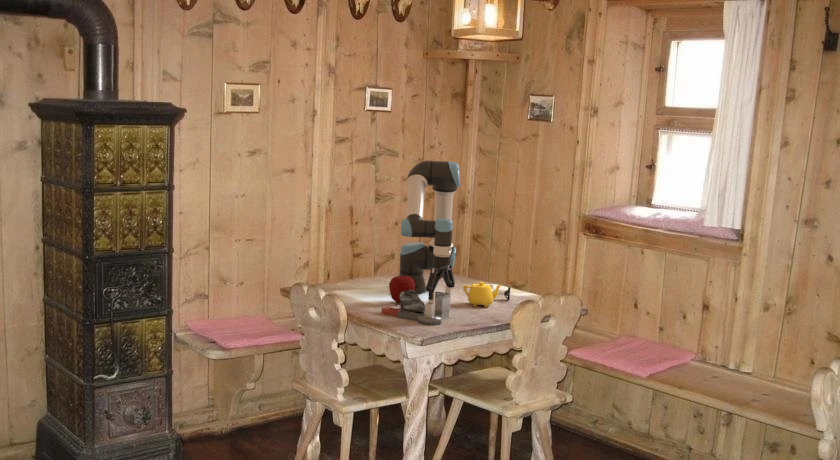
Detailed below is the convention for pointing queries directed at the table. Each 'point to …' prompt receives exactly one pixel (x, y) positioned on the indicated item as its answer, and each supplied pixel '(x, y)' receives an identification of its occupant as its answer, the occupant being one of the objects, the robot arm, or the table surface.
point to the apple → (400, 286)
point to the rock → (411, 302)
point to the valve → (506, 293)
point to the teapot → (481, 294)
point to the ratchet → (416, 314)
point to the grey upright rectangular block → (442, 304)
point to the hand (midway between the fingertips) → (439, 304)
